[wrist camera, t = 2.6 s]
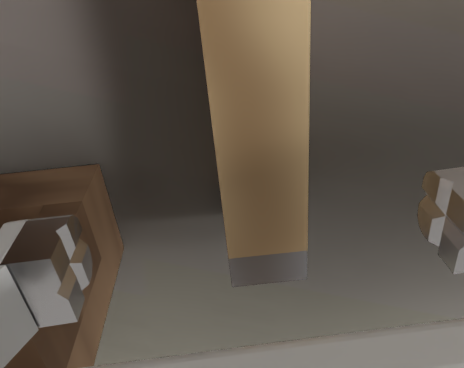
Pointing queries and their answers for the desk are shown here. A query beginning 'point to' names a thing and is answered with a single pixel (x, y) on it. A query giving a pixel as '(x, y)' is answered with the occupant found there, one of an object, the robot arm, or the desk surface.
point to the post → (93, 233)
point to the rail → (260, 131)
